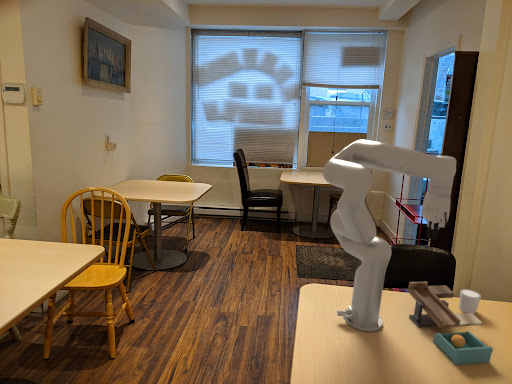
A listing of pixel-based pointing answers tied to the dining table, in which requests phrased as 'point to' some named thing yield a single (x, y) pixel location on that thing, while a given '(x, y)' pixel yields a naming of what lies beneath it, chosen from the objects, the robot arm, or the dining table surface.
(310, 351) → the dining table surface
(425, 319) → the lever stand
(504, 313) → the dining table surface
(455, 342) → the orange ball
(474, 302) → the white cup
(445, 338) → the teal tray
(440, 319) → the walnut lever
